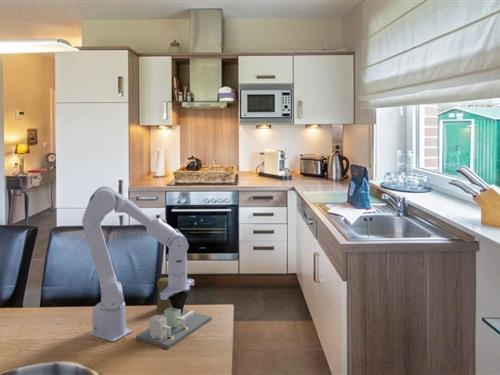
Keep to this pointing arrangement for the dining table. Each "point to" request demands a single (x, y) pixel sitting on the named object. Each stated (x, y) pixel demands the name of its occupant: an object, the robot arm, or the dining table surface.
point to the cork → (162, 303)
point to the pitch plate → (172, 329)
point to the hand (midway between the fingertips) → (178, 314)
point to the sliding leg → (173, 316)
